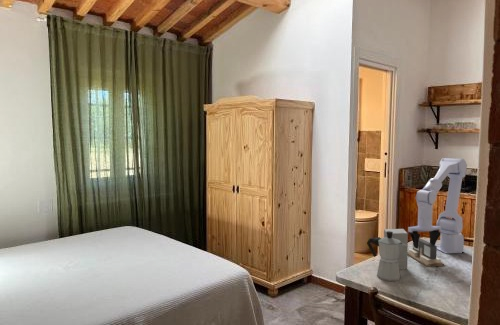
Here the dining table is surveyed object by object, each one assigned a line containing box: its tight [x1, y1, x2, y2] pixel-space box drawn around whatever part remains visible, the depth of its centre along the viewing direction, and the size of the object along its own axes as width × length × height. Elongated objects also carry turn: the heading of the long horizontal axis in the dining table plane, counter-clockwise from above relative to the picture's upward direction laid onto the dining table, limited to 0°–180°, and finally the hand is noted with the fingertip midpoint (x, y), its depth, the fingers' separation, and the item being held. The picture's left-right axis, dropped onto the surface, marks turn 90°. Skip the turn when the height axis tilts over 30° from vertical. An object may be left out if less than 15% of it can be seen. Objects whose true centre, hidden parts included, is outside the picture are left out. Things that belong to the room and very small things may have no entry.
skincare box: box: [383, 228, 409, 270], centre depth 155 cm, size 8×7×16 cm
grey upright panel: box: [412, 237, 438, 259], centre depth 165 cm, size 14×3×6 cm, turn 7°
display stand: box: [407, 248, 445, 268], centre depth 165 cm, size 8×17×5 cm, turn 7°
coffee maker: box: [366, 231, 406, 282], centre depth 145 cm, size 15×9×18 cm, turn 57°
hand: (424, 247), depth 165 cm, fingers open, 7 cm apart
